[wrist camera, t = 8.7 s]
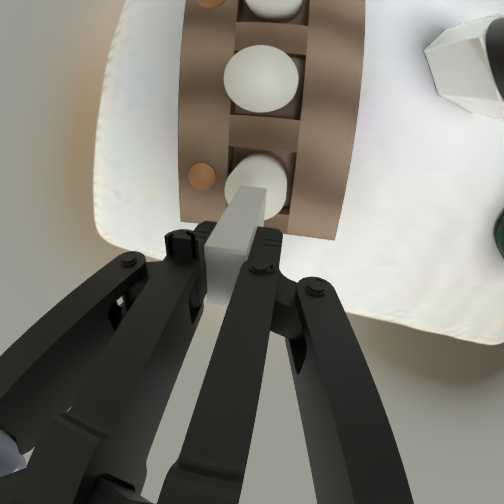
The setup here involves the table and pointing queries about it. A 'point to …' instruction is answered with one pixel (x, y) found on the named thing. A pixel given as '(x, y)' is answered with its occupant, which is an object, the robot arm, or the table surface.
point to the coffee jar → (500, 235)
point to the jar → (471, 65)
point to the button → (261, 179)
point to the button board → (274, 122)
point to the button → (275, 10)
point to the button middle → (261, 78)
